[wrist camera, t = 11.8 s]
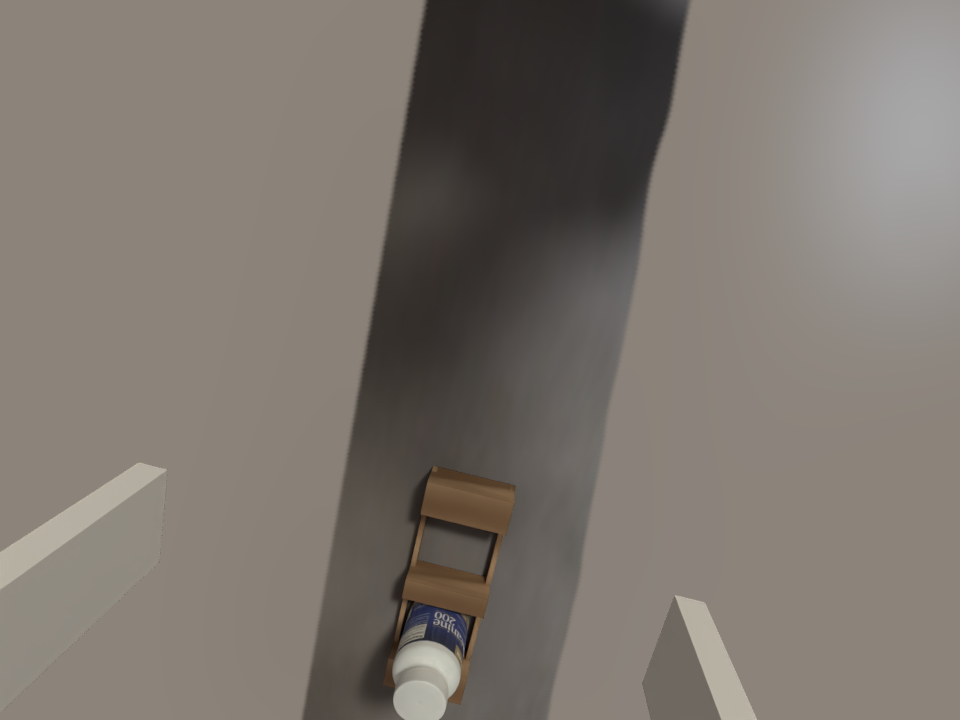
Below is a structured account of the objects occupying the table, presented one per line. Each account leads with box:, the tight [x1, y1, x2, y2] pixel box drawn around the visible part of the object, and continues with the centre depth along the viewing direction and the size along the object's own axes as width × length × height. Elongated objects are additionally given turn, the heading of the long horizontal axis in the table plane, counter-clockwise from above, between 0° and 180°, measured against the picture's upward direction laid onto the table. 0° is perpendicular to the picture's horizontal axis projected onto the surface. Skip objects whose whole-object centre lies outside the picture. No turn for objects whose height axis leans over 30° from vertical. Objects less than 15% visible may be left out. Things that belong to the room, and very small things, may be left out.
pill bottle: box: [392, 602, 469, 720], centre depth 48 cm, size 5×5×10 cm
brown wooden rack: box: [383, 466, 515, 705], centre depth 50 cm, size 20×7×3 cm, turn 167°
